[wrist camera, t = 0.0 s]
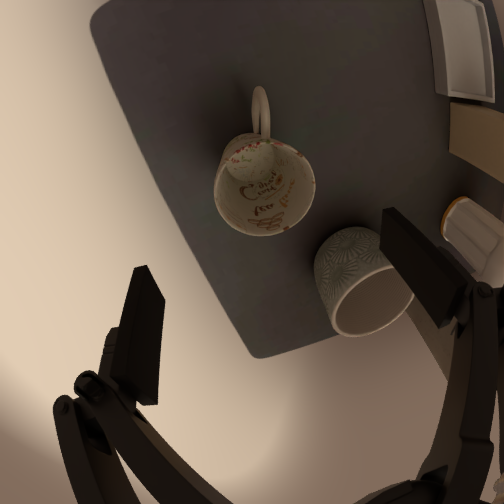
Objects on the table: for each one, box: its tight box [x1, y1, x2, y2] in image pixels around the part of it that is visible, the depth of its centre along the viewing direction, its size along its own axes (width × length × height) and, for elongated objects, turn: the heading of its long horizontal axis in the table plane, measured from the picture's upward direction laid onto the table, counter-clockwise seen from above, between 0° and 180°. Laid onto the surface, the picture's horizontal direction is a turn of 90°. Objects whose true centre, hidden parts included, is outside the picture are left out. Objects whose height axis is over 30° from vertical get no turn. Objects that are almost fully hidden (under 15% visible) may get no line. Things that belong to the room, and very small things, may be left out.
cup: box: [441, 196, 504, 288], centre depth 33 cm, size 11×11×17 cm
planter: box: [314, 227, 415, 337], centre depth 36 cm, size 12×12×11 cm
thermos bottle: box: [405, 296, 497, 391], centre depth 35 cm, size 8×8×28 cm
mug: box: [214, 86, 315, 236], centre depth 25 cm, size 8×13×10 cm, turn 1°
